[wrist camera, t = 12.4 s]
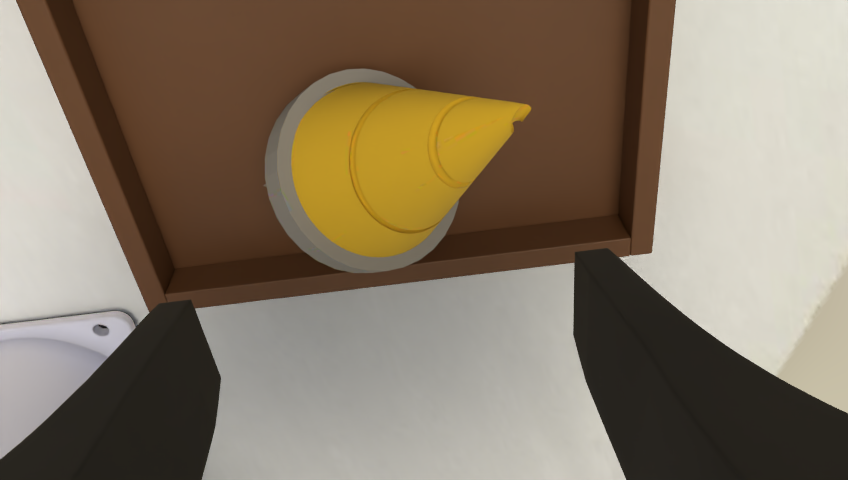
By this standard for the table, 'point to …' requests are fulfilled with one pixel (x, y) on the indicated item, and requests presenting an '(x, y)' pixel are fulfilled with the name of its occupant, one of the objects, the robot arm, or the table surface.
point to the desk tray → (336, 51)
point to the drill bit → (378, 166)
